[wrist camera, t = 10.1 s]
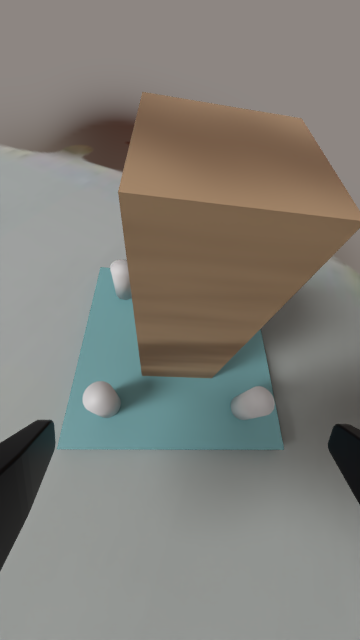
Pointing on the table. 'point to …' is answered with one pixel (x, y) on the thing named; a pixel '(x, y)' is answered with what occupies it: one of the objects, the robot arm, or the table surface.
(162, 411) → the peg plate
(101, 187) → the table surface
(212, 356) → the walnut pillar
